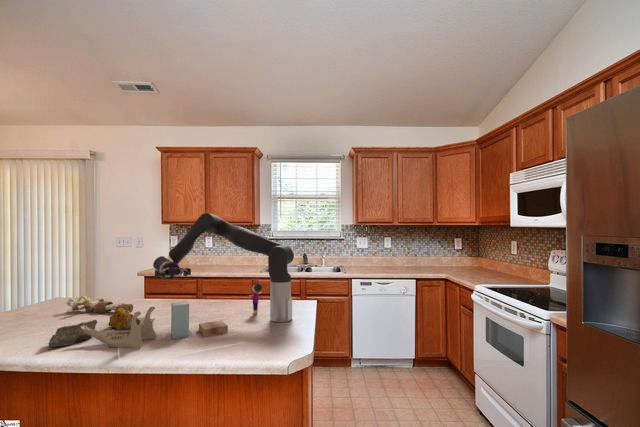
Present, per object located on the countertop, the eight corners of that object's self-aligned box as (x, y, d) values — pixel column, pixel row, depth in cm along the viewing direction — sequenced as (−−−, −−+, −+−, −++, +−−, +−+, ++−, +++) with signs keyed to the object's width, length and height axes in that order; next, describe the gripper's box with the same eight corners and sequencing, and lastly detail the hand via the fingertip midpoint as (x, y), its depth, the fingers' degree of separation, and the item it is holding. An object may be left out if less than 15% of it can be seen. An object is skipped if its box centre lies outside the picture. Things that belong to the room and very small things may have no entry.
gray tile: (189, 330, 134) (189, 329, 134) (194, 337, 126) (194, 336, 126) (165, 334, 129) (165, 333, 129) (168, 341, 121) (168, 340, 122)
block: (186, 331, 131) (186, 301, 132) (188, 335, 127) (189, 303, 127) (170, 334, 129) (171, 302, 129) (173, 338, 124) (173, 305, 124)
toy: (258, 311, 165) (259, 280, 166) (268, 312, 163) (268, 281, 163) (245, 316, 156) (245, 284, 156) (254, 317, 153) (255, 284, 154)
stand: (221, 327, 138) (221, 320, 139) (227, 333, 131) (227, 325, 131) (198, 331, 134) (198, 323, 134) (204, 337, 126) (204, 329, 126)
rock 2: (132, 333, 143) (146, 318, 142) (119, 343, 135) (133, 327, 133) (113, 316, 143) (126, 300, 142) (98, 325, 135) (113, 308, 133)
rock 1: (84, 321, 132) (103, 316, 129) (86, 338, 131) (105, 334, 128) (36, 333, 115) (56, 328, 113) (38, 353, 114) (58, 348, 112)
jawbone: (158, 339, 123) (155, 303, 123) (142, 352, 114) (139, 312, 113) (93, 340, 125) (91, 304, 124) (72, 352, 115) (69, 313, 114)
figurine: (144, 308, 174) (91, 305, 178) (145, 295, 175) (92, 292, 178) (110, 321, 150) (50, 317, 153) (111, 306, 150) (51, 302, 154)
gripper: (152, 262, 149) (156, 266, 135) (186, 260, 156) (193, 264, 143) (152, 279, 149) (156, 285, 135) (185, 276, 156) (193, 282, 142)
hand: (175, 274), depth 139 cm, fingers open, 8 cm apart
